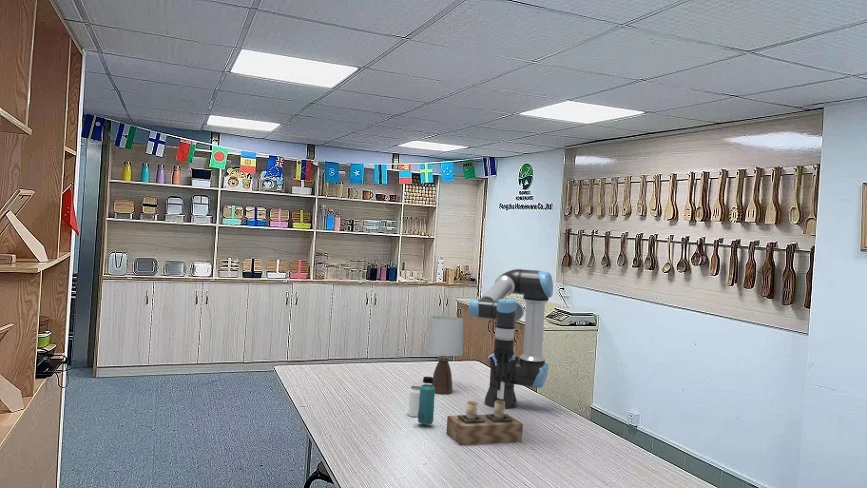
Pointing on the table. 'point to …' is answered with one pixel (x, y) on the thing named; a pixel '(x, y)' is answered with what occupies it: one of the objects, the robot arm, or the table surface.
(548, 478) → the table surface
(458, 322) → the lamp
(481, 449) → the table surface
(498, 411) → the peg
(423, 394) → the beverage bottle
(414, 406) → the can
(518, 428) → the walnut block
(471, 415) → the peg
